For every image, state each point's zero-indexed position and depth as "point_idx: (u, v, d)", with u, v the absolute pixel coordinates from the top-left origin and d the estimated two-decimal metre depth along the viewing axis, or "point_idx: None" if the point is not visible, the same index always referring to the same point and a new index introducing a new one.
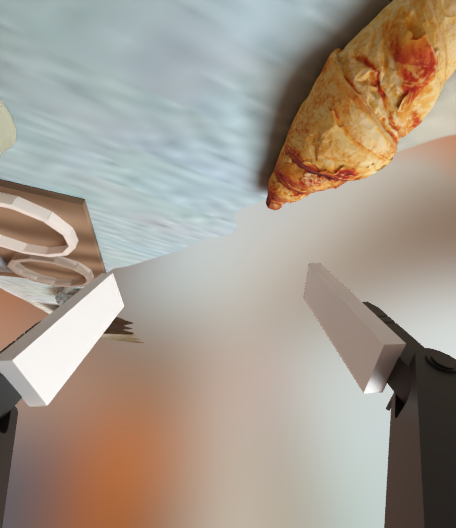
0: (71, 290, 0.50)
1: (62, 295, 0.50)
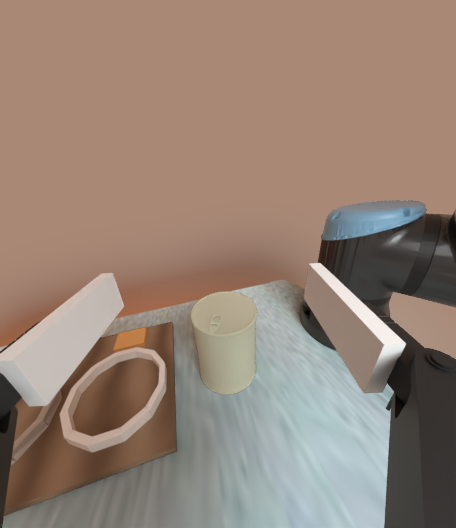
0: None
1: None
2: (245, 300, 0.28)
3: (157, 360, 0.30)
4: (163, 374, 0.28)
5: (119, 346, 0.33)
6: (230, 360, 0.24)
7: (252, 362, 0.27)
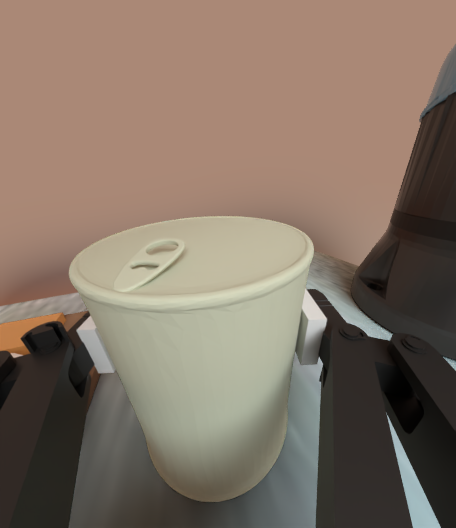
0: None
1: None
2: (265, 224, 0.10)
3: None
4: None
5: None
6: (218, 412, 0.06)
7: (286, 402, 0.09)
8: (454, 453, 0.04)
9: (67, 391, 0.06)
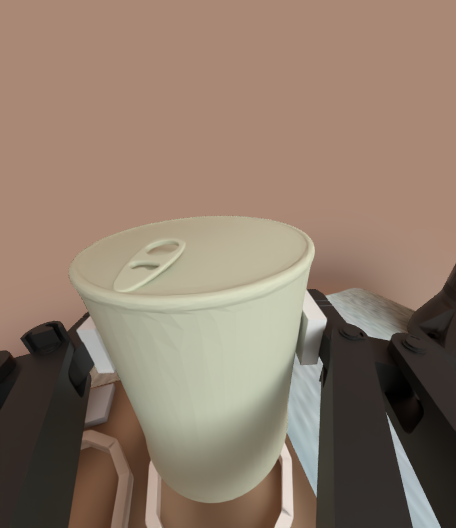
0: None
1: None
2: (265, 224, 0.10)
3: None
4: None
5: None
6: (218, 413, 0.06)
7: (286, 402, 0.09)
8: (454, 453, 0.04)
9: (67, 391, 0.06)
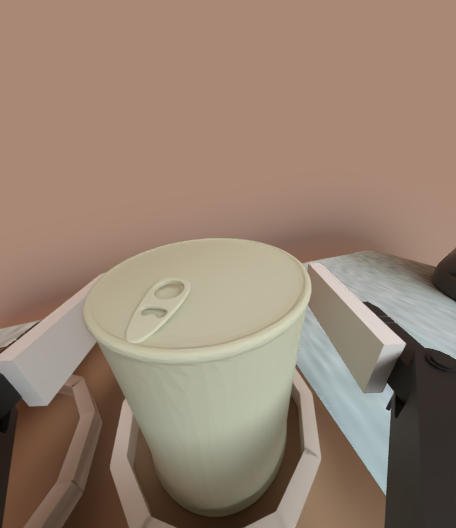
0: None
1: None
2: (265, 251, 0.10)
3: None
4: (298, 375, 0.14)
5: None
6: (221, 441, 0.07)
7: (285, 422, 0.10)
8: None
9: None
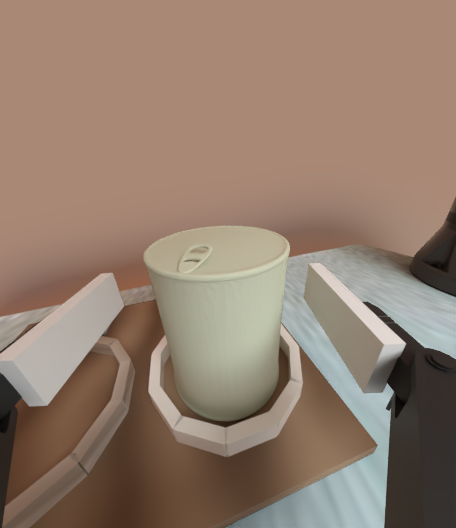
0: None
1: None
2: (261, 232, 0.14)
3: None
4: (288, 335, 0.18)
5: None
6: (232, 347, 0.10)
7: (276, 355, 0.14)
8: None
9: None
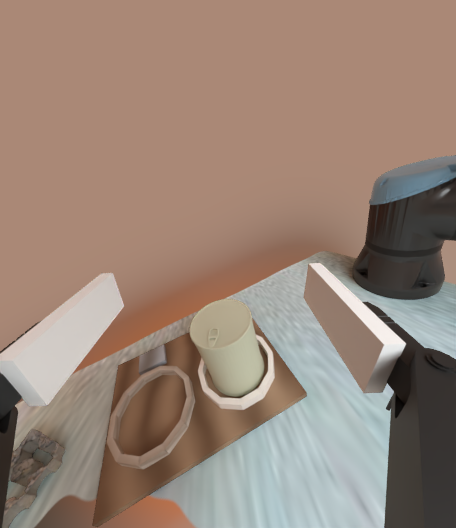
0: (44, 473, 0.27)
1: (46, 449, 0.28)
2: (239, 306, 0.29)
3: None
4: (267, 346, 0.33)
5: None
6: (235, 367, 0.25)
7: (258, 362, 0.29)
8: None
9: None
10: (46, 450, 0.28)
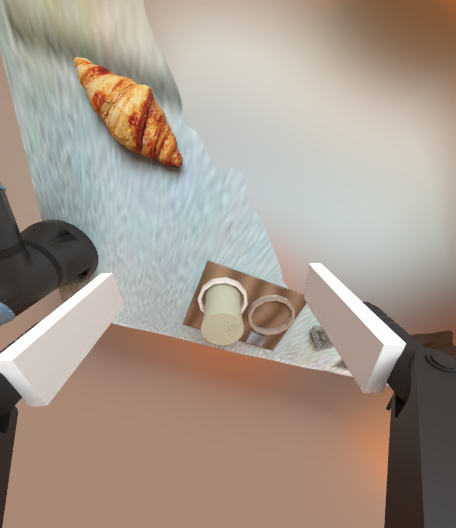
0: (319, 328, 0.56)
1: None
2: (204, 328, 0.40)
3: (200, 302, 0.49)
4: (200, 293, 0.48)
5: None
6: (232, 301, 0.43)
7: (216, 292, 0.45)
8: None
9: None
10: None
